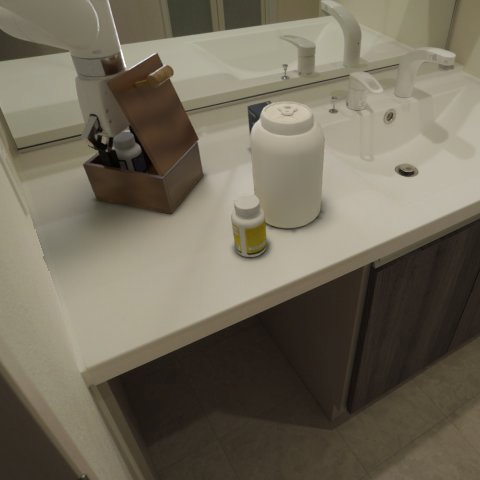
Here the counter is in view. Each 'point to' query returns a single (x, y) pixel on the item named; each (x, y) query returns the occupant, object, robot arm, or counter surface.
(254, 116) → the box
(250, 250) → the supplement bottle
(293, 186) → the white canister
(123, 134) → the pill bottle
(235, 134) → the counter surface
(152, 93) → the lid
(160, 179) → the chest
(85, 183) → the counter surface
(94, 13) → the robot arm
